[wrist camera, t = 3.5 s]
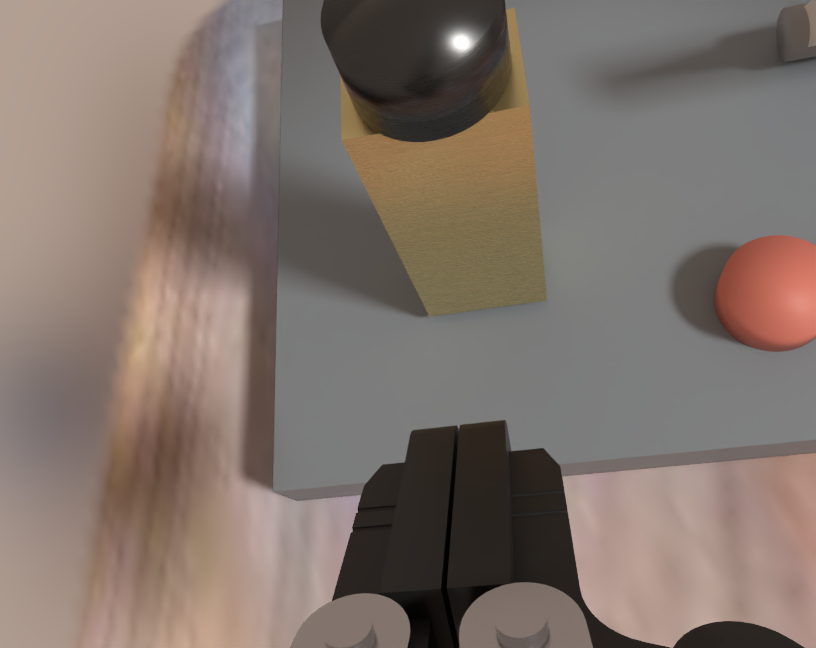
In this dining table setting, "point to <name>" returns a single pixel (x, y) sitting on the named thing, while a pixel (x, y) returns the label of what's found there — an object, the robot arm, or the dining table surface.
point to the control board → (570, 258)
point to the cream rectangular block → (797, 32)
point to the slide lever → (443, 143)
